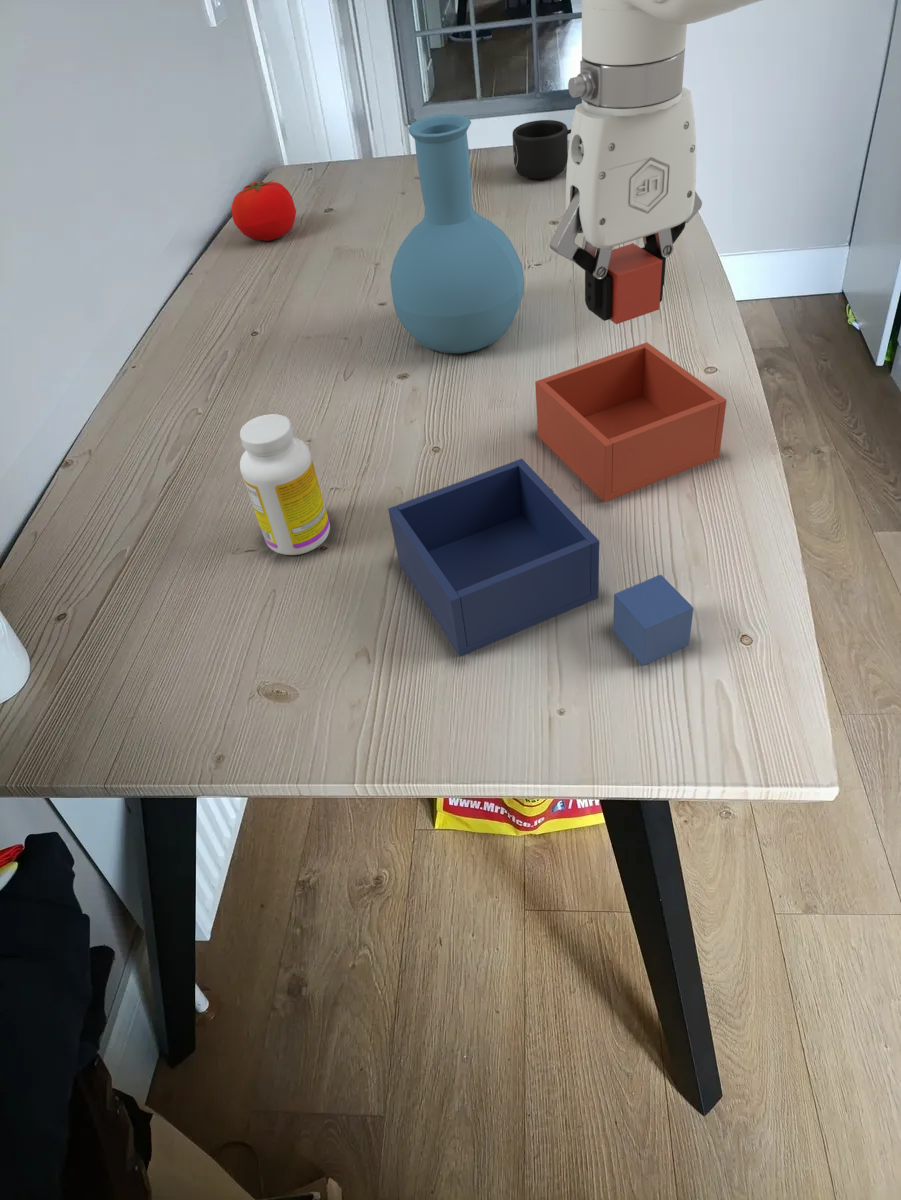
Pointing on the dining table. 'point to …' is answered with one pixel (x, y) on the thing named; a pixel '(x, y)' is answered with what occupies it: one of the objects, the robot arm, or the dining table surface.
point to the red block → (634, 282)
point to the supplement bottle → (283, 486)
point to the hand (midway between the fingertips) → (624, 303)
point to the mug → (540, 149)
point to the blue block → (652, 619)
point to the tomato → (264, 211)
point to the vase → (453, 252)
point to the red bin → (629, 420)
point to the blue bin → (495, 555)
